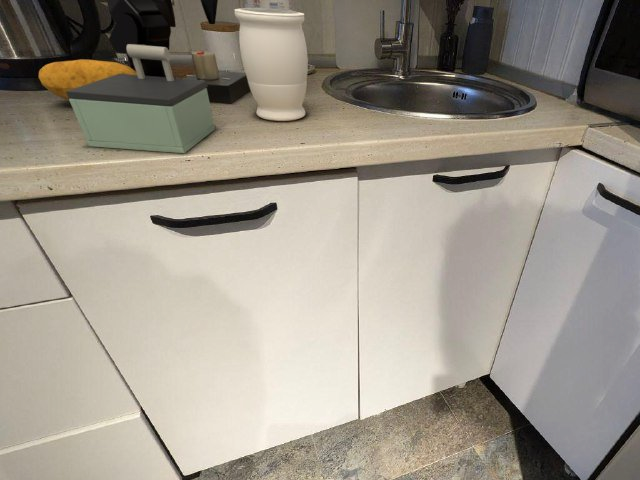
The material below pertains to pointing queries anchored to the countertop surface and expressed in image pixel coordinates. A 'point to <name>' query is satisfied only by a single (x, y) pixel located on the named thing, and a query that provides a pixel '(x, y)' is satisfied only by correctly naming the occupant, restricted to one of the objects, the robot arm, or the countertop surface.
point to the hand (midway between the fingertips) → (193, 25)
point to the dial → (205, 65)
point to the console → (226, 86)
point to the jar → (274, 60)
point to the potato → (78, 74)
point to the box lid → (141, 82)
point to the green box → (145, 123)
